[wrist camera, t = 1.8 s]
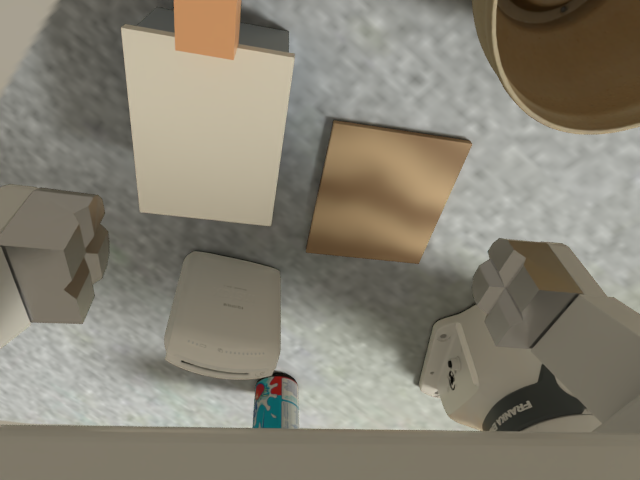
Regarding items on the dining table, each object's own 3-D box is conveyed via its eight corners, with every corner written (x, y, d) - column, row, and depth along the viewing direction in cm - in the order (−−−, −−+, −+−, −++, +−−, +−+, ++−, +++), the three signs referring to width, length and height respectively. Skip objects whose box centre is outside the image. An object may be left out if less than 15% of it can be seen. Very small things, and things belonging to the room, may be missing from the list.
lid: (271, 212, 34) (269, 244, 31) (146, 198, 33) (131, 230, 29) (303, -14, 24) (305, 1, 21) (123, -50, 23) (98, -40, 20)
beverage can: (259, 369, 57) (251, 493, 45) (302, 373, 58) (306, 495, 46) (252, 393, 60) (243, 513, 49) (293, 396, 61) (294, 514, 50)
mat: (417, 260, 45) (418, 263, 45) (305, 248, 43) (306, 252, 43) (469, 140, 37) (472, 144, 36) (333, 120, 35) (334, 123, 34)
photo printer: (287, 266, 45) (286, 369, 35) (274, 293, 47) (271, 395, 38) (188, 243, 42) (159, 347, 33) (180, 273, 45) (151, 378, 35)
